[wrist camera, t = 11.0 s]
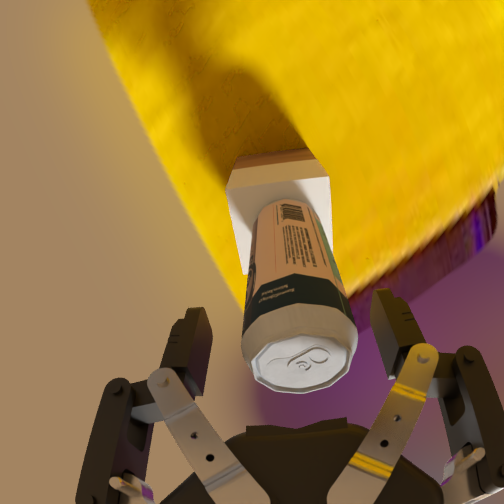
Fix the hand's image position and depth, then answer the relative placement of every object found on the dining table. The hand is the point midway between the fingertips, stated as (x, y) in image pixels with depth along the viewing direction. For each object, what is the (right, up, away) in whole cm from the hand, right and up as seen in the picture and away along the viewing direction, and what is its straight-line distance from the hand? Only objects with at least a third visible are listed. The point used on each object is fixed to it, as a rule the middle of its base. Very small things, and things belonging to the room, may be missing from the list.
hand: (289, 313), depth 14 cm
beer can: (+1, +5, +7) cm, 9 cm away
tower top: (+1, +7, +12) cm, 14 cm away
